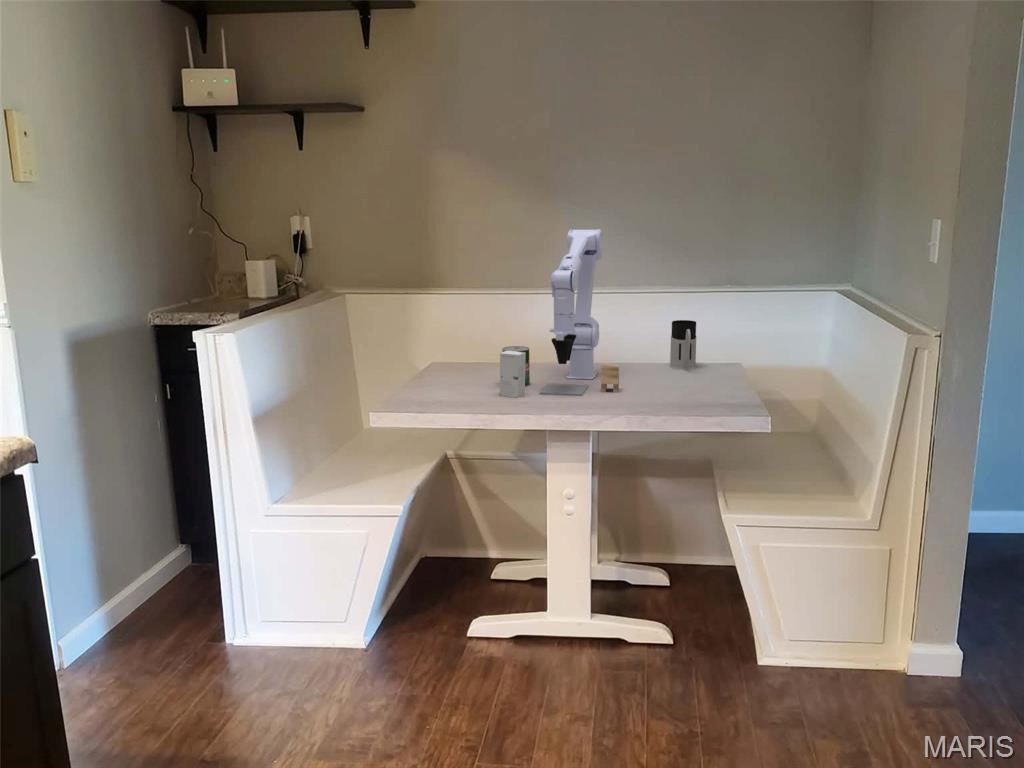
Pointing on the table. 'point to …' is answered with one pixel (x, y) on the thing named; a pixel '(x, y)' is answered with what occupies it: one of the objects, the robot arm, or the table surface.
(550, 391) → the slate mat
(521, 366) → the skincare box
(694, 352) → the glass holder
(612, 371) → the notched wooden block
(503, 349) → the canned tomato
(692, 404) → the table surface
